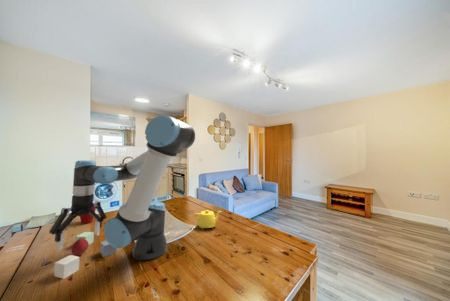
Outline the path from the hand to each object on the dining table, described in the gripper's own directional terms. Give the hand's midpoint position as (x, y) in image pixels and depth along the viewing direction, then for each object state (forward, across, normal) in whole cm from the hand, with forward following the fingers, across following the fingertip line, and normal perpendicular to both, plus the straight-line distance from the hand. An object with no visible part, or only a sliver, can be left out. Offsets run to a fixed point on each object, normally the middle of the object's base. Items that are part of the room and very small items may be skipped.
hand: (79, 241), depth 74 cm
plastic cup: (+7, -21, -38) cm, 44 cm away
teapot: (+6, -54, +36) cm, 65 cm away
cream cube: (+6, +8, +10) cm, 14 cm away
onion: (+6, 0, +1) cm, 6 cm away
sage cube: (+6, -6, -8) cm, 12 cm away
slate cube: (+6, -7, +10) cm, 13 cm away
